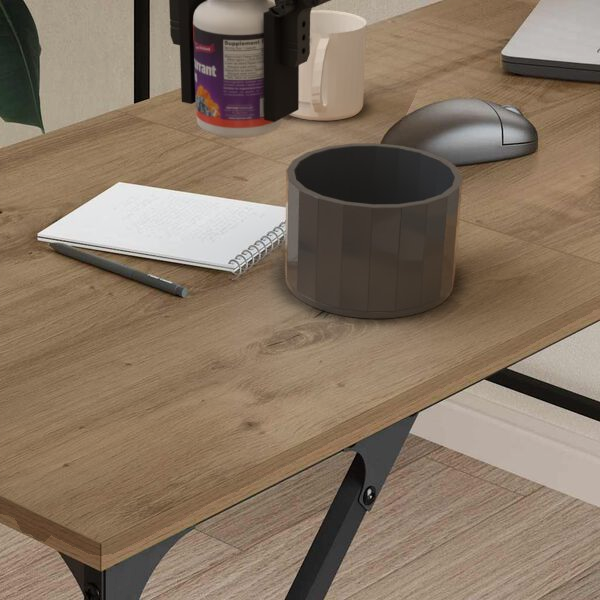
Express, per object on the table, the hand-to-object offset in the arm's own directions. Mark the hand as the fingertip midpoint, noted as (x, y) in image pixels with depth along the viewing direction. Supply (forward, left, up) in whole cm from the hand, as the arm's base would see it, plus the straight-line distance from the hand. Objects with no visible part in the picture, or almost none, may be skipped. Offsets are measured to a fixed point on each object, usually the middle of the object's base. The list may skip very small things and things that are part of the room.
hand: (239, 105), depth 82 cm
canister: (+18, 0, -19) cm, 27 cm away
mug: (+51, +24, -20) cm, 60 cm away
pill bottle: (0, 0, -2) cm, 2 cm away
